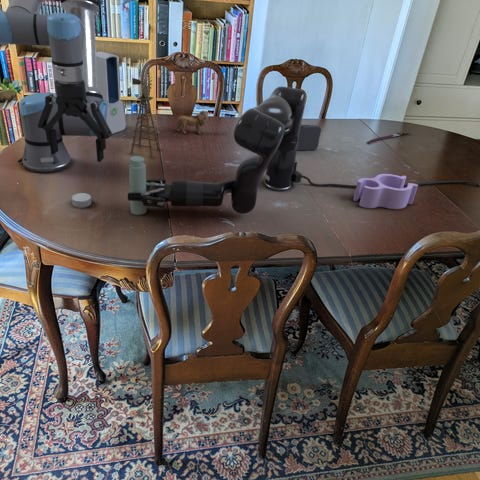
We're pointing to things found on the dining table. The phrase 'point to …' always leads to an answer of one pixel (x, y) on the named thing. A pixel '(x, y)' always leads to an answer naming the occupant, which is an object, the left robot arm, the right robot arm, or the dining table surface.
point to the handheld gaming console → (309, 137)
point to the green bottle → (137, 183)
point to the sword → (386, 137)
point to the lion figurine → (193, 121)
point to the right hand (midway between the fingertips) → (129, 191)
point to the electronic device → (110, 90)
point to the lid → (81, 200)
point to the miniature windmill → (144, 98)
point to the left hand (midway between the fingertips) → (77, 156)
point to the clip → (384, 192)
